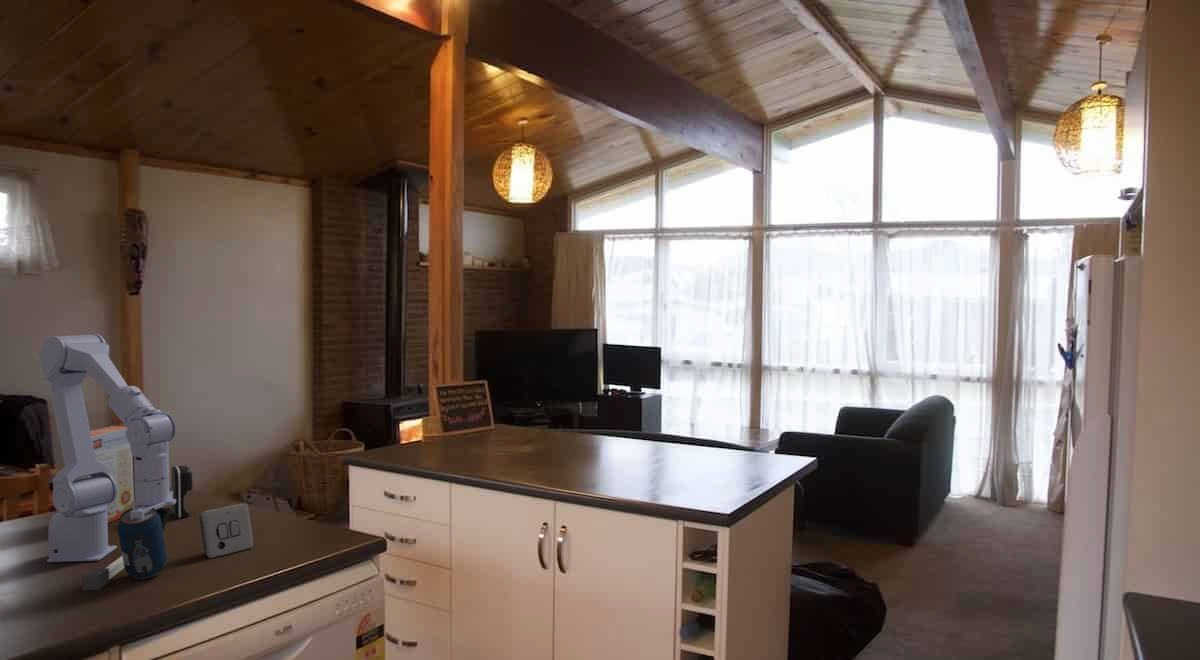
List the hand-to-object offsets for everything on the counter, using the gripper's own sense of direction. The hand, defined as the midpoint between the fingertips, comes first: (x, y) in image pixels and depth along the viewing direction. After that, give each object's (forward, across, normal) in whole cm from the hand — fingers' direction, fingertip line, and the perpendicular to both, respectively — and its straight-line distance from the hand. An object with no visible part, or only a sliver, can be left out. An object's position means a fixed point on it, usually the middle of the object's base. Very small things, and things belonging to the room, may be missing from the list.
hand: (153, 548), depth 151 cm
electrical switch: (+4, +9, -10) cm, 14 cm away
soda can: (+3, -3, 0) cm, 4 cm away
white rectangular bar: (+4, +2, +7) cm, 8 cm away
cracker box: (+4, +33, +24) cm, 41 cm away
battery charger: (+4, +37, +8) cm, 38 cm away
